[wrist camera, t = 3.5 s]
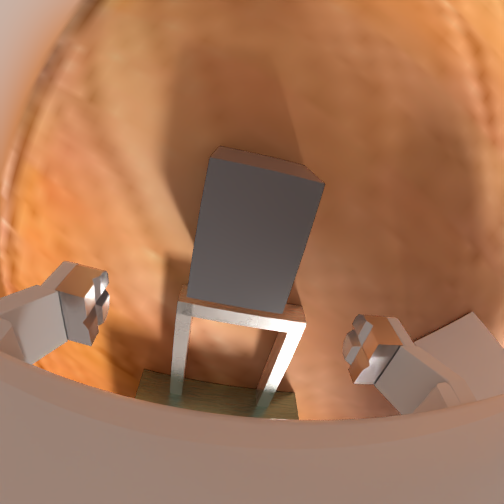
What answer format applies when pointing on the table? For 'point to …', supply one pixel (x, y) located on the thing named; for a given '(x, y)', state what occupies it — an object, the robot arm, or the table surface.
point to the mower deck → (222, 396)
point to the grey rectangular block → (252, 229)
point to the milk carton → (469, 354)
